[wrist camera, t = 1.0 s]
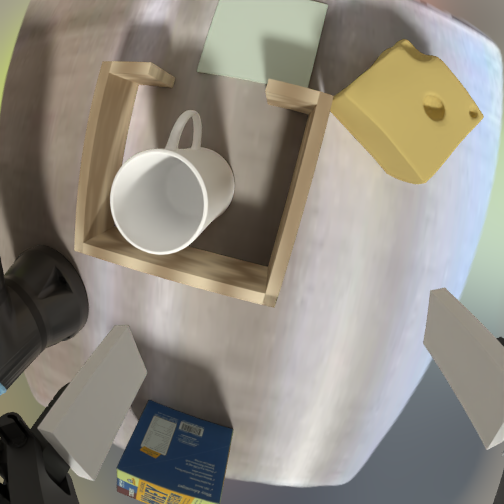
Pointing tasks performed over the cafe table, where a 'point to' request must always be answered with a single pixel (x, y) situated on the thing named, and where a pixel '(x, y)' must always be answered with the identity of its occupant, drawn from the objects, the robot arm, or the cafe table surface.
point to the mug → (171, 192)
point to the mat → (264, 40)
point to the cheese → (407, 112)
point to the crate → (188, 259)
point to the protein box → (174, 458)
